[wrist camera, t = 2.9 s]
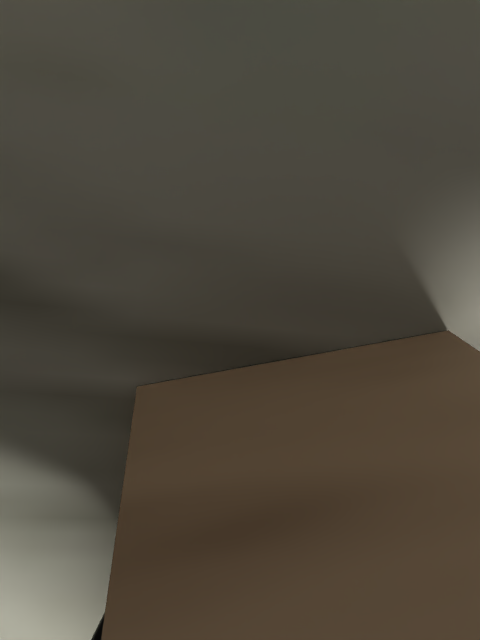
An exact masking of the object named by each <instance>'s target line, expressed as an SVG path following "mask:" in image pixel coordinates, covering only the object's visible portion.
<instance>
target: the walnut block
mask: <svg viewBox="0 0 480 640" xmlns="http://www.w3.org/2000/svg"><path fill="white" fill-rule="evenodd" d="M101 640H480V352H479V351H478V350H476V349H475V348H473V347H472V346H470V345H469V344H467V343H466V342H464V341H463V340H462V339H460V338H459V337H457V336H456V335H454V334H453V333H451V332H450V331H442V332H437V333H431V334H426V335H420V336H415V337H409V338H404V339H398V340H392V341H387V342H381V343H376V344H370V345H365V346H359V347H354V348H348V349H343V350H337V351H331V352H326V353H320V354H315V355H309V356H304V357H298V358H293V359H287V360H282V361H276V362H270V363H265V364H259V365H254V366H248V367H243V368H237V369H232V370H226V371H221V372H215V373H209V374H204V375H198V376H193V377H187V378H182V379H176V380H171V381H165V382H160V383H154V384H148V385H143V386H137V390H136V397H135V404H134V411H133V418H132V425H131V432H130V439H129V446H128V453H127V460H126V467H125V474H124V482H123V489H122V496H121V503H120V510H119V517H118V524H117V531H116V538H115V545H114V552H113V559H112V567H111V574H110V581H109V588H108V595H107V602H106V609H105V616H104V623H103V630H102V637H101Z"/></svg>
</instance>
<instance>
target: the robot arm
mask: <svg viewBox="0 0 480 640" xmlns="http://www.w3.org/2000/svg"><path fill="white" fill-rule="evenodd" d="M104 616H105V613H104V615H103V617H102V619H101V621H100V623H99V625H98V627H97V629H96V631H95V633H94V635H93V637H92V639H91V640H101V637H102V630H103V623H104Z"/></svg>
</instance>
